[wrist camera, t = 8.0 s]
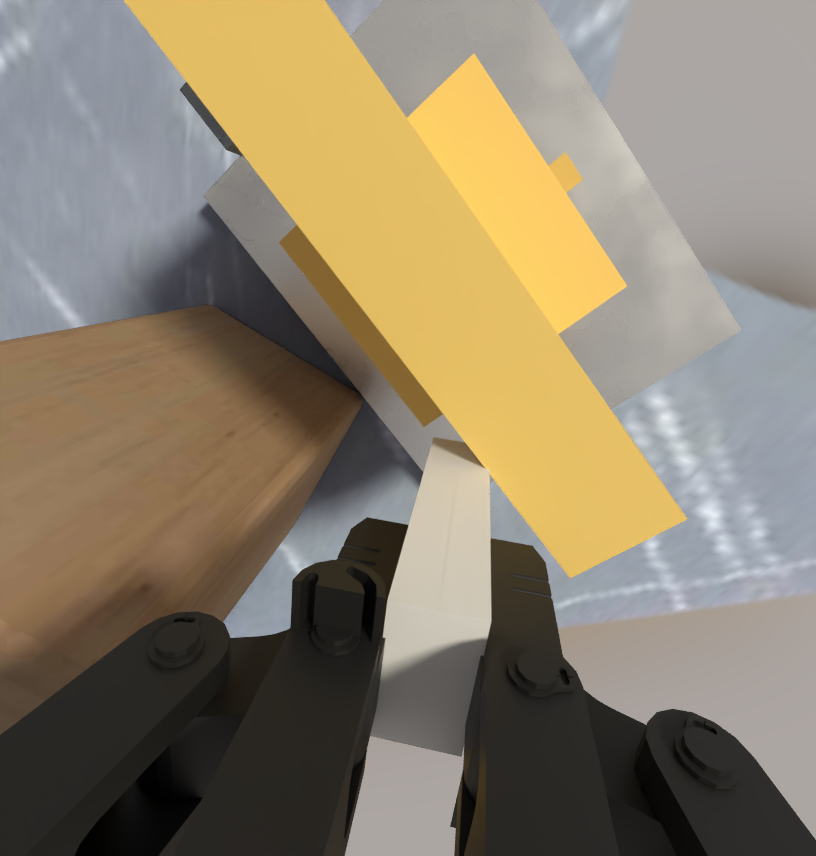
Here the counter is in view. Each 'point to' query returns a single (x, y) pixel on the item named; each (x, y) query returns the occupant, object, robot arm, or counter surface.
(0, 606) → the wooden block
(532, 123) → the base
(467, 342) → the yellow block with bar
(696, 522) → the counter surface
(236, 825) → the robot arm
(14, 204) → the counter surface
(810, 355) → the counter surface
